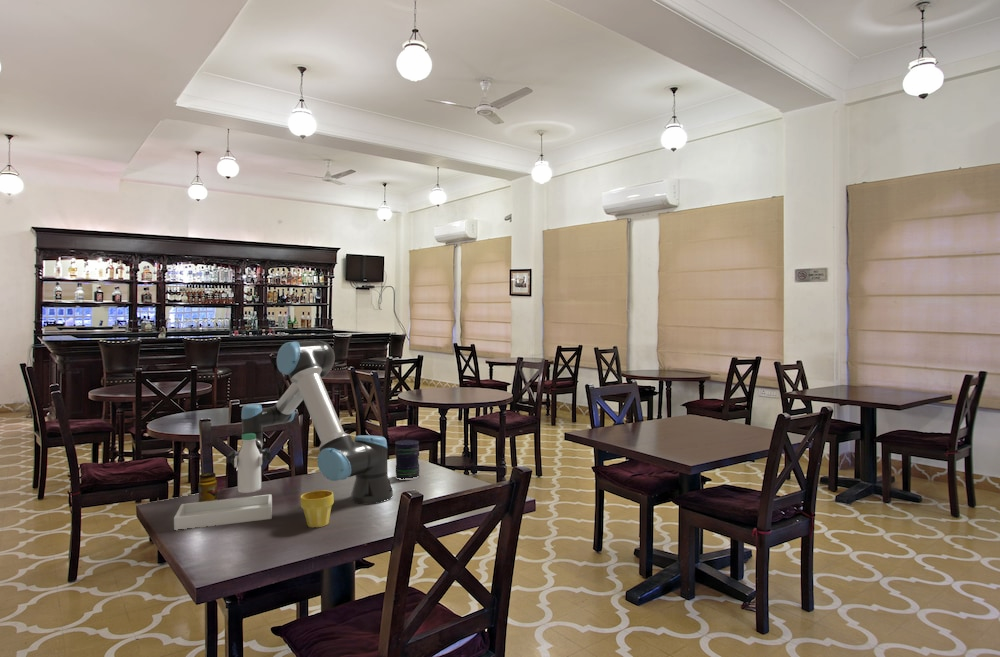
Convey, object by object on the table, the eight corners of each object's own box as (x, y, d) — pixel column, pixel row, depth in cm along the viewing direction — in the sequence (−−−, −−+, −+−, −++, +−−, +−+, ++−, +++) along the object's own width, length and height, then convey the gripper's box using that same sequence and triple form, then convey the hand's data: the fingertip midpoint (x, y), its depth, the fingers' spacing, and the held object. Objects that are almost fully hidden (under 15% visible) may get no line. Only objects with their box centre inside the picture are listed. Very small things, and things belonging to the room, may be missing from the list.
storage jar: (424, 477, 253) (423, 441, 252) (405, 482, 246) (404, 445, 245) (409, 473, 259) (408, 438, 259) (390, 478, 252) (390, 442, 252)
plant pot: (294, 528, 193) (293, 497, 193) (313, 518, 203) (312, 489, 203) (322, 531, 190) (321, 500, 190) (340, 520, 200) (339, 490, 200)
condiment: (220, 507, 216) (219, 474, 216) (193, 512, 211) (192, 478, 211) (216, 502, 222) (216, 470, 222) (191, 507, 217) (190, 474, 217)
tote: (271, 505, 218) (271, 494, 218) (271, 518, 203) (271, 506, 203) (181, 515, 208) (181, 504, 208) (174, 530, 193) (173, 518, 193)
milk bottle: (265, 489, 215) (264, 433, 215) (243, 494, 210) (242, 437, 209) (255, 485, 221) (254, 431, 220) (234, 490, 215) (233, 434, 215)
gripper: (279, 456, 235) (279, 470, 214) (222, 461, 228) (216, 476, 207) (279, 437, 235) (278, 449, 214) (222, 441, 228) (215, 454, 207)
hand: (248, 462), depth 210 cm, fingers closed on milk bottle, 7 cm apart
